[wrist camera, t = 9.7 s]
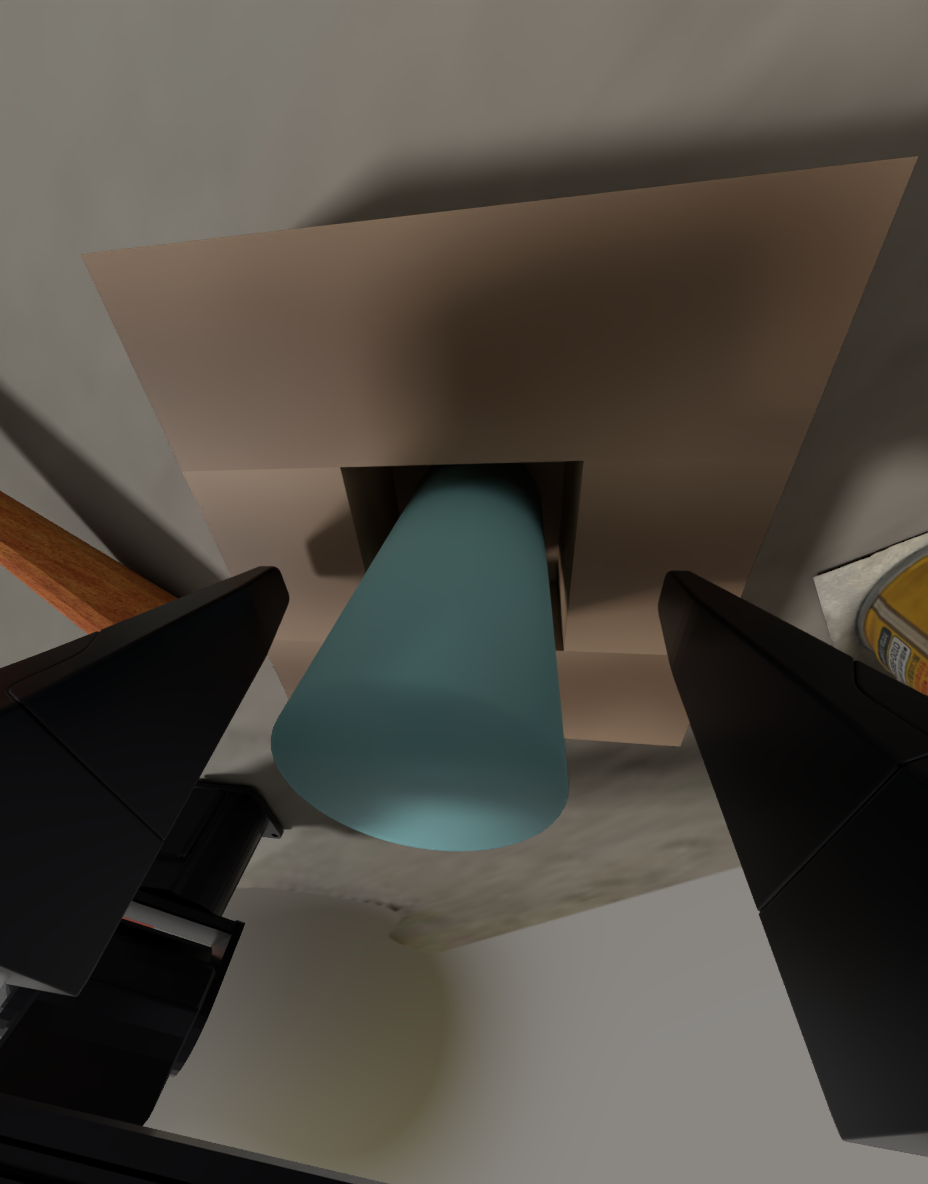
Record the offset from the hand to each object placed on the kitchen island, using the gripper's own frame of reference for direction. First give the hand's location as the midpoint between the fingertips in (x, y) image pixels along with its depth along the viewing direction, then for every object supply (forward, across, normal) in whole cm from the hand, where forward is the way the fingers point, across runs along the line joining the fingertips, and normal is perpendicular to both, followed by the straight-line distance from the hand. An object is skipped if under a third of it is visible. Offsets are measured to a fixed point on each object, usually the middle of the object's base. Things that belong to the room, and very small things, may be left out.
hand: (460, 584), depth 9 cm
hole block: (+5, 0, 0) cm, 5 cm away
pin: (+4, 0, 0) cm, 4 cm away
